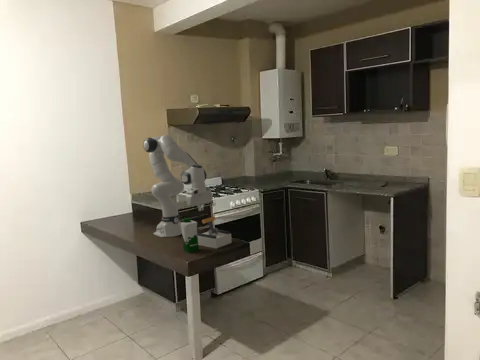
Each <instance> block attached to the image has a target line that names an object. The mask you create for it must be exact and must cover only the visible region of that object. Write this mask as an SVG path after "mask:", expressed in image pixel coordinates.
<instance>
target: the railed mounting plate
mask: <svg viewBox="0 0 480 360" xmlns="http://www.w3.org/2000/svg"><path fill="white" fill-rule="evenodd" d="M218 233H224V234H231V233H230V231H228V230H224V229H222V230H221V229H218ZM197 235H198V236H202V237H208V238H213V239H216V236H213V235H207V234H202V233H201V232H197Z"/></svg>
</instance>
